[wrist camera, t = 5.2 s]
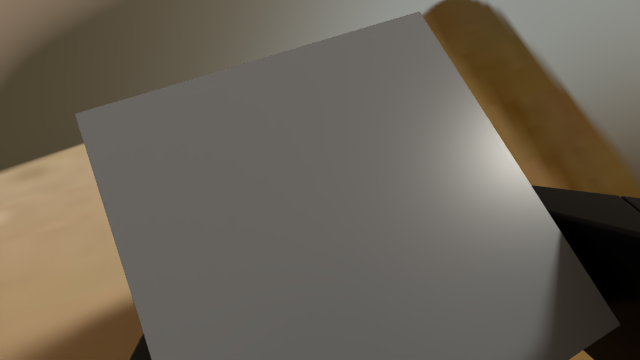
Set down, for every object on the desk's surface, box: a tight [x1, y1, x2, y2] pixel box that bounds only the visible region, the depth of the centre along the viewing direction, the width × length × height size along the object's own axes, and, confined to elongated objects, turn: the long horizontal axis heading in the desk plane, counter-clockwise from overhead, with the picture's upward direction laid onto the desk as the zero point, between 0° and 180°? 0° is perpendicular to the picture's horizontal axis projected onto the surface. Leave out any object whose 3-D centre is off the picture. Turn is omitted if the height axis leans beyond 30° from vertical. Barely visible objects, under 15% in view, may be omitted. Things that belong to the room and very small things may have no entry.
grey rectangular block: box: [75, 12, 620, 360], centre depth 10 cm, size 7×7×10 cm
